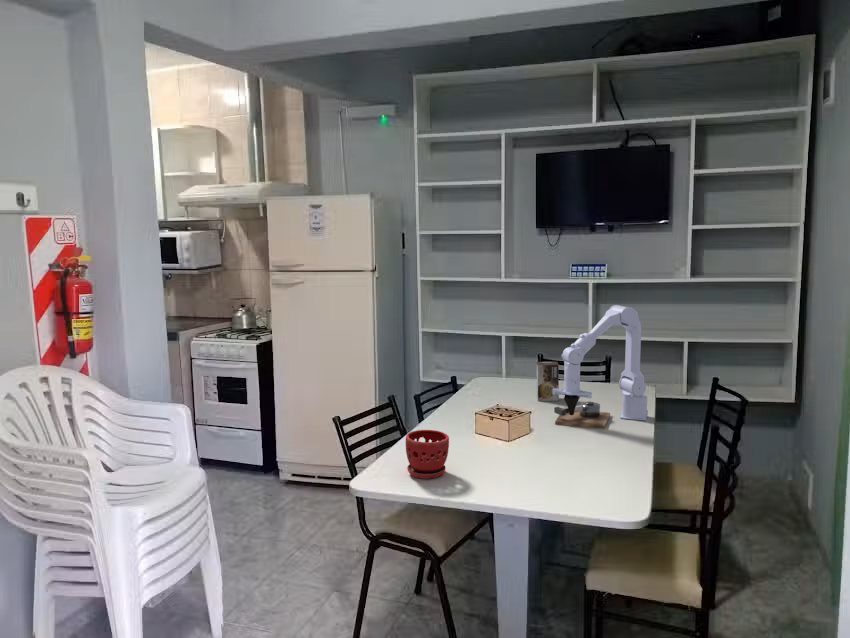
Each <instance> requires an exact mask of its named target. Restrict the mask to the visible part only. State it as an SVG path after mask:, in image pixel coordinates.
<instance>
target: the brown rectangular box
mask: <svg viewBox="0 0 850 638" xmlns="http://www.w3.org/2000/svg"><path fill="white" fill-rule="evenodd" d="M559 369H560V367H559V363H558V361H536V399H537V402H558V401H559V400H560V397H559V396H560V395H559V394H555V395H554V394H553V389H554V388H556V389H560V388H559V385H560V384H559V383H560V382H559V381H560V380H559V379H560V378H559V377H560V376H559V375H560V373H559Z"/></svg>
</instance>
